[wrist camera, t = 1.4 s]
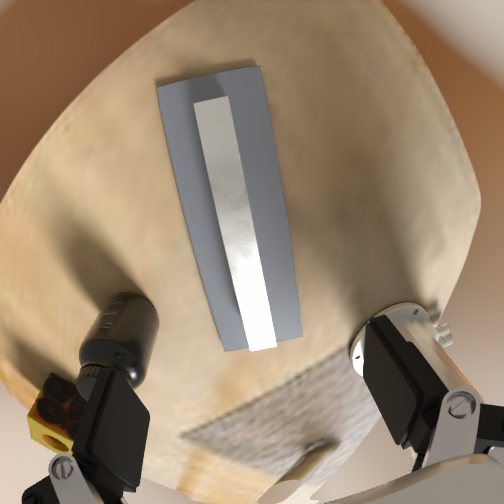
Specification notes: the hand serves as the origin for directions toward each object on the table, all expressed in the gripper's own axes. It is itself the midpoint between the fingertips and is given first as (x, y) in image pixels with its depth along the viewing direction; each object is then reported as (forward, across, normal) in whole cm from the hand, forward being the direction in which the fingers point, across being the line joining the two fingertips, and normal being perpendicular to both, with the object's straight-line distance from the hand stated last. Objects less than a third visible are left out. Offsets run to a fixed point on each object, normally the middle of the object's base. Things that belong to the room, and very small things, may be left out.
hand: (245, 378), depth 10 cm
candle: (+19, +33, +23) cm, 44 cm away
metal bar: (+18, -1, 0) cm, 18 cm away
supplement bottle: (+19, +14, +8) cm, 25 cm away
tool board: (+19, -1, 0) cm, 19 cm away
